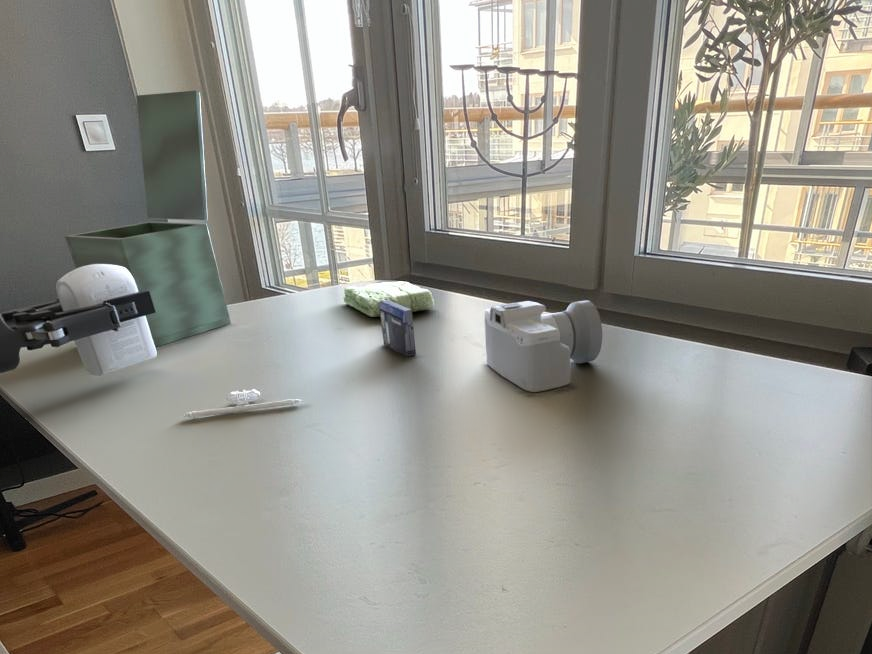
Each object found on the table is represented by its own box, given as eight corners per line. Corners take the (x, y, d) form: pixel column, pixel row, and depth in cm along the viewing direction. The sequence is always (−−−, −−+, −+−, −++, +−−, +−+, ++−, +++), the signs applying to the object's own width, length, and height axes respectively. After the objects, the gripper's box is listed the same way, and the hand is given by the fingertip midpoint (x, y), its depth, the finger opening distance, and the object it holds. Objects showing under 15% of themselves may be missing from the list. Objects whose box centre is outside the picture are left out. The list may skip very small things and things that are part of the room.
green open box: (155, 347, 110) (120, 239, 101) (100, 338, 116) (64, 236, 107) (231, 323, 121) (206, 223, 112) (178, 316, 127) (150, 221, 118)
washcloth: (406, 292, 134) (404, 274, 132) (439, 310, 121) (437, 290, 119) (340, 302, 130) (337, 283, 128) (367, 321, 117) (364, 301, 115)
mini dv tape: (383, 344, 105) (378, 301, 102) (392, 342, 106) (388, 299, 102) (406, 356, 100) (401, 311, 96) (416, 354, 100) (411, 309, 97)
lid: (195, 90, 104) (199, 91, 105) (135, 95, 110) (140, 96, 111) (203, 220, 111) (207, 220, 112) (147, 217, 117) (151, 218, 118)
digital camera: (612, 411, 89) (628, 335, 81) (505, 420, 87) (511, 342, 79) (575, 347, 99) (586, 274, 92) (478, 353, 97) (482, 279, 89)
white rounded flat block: (142, 353, 100) (110, 257, 92) (163, 356, 98) (133, 258, 91) (81, 375, 93) (41, 272, 85) (103, 379, 91) (64, 274, 84)
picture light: (184, 420, 83) (178, 402, 81) (187, 408, 86) (181, 390, 85) (302, 404, 85) (299, 387, 84) (301, 393, 88) (297, 376, 87)
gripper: (-57, 368, 85) (108, 323, 101) (24, 388, 78) (189, 335, 93) (-91, 302, 81) (88, 265, 96) (-8, 316, 73) (172, 273, 89)
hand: (138, 300), depth 95 cm, fingers closed on white rounded flat block, 4 cm apart
